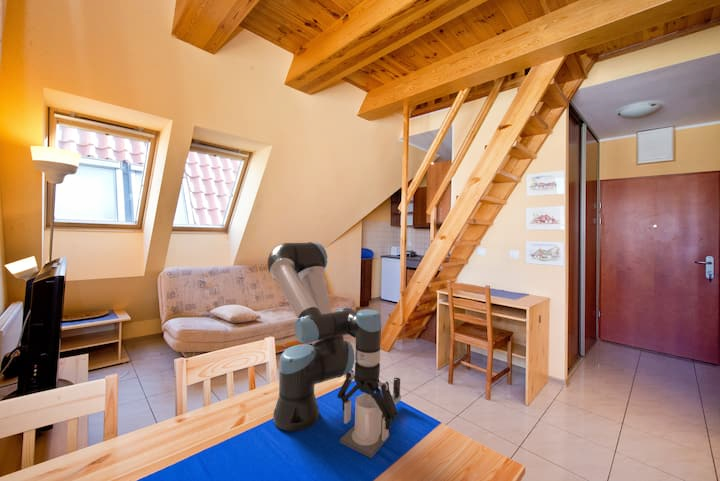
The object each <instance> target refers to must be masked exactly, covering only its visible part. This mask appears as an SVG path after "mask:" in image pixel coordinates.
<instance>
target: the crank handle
mask: <svg viewBox="0 0 720 481" xmlns="http://www.w3.org/2000/svg"><path fill="white" fill-rule="evenodd" d="M392 386H393V387H392V388H393V390H392V392H393V393H392V394H391V396H392V399H393V402H394V404H395V406H396V405H397V404H398V403H399V402H400V401H401V399H402V394H401V378H400V377H393V385H392ZM382 414H383V413H382Z"/></svg>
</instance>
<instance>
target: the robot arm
mask: <svg viewBox="0 0 720 481" xmlns="http://www.w3.org/2000/svg"><path fill="white" fill-rule="evenodd" d="M327 253H328V252H327V250H326V249H325V247H324V245H322V244H321V243H319V242H311V241H310V242H309V241H307V242H283V243H281V244H278V245H277V246H275V247H274V248H273V249H272V250H271V251H270V253H269V255H268V257H267V270H268V272H269V275H270V276H271V277H272V278H273V279H274V280H276V282H277V284H278V286H279V287H280V289H281V291H282V293H283V296H284V297H285V299H286V301H287V303H288V305H289V307H290V309H291V311H292V313H293V314H294V317H295V319H296V320H295V322H294V327H293V331H294V333H295V334H294V336H295V338H296V340H297V341H298V342H299V343H300V344H296V345H292V346H290V347H288V348H286V349H285V350H284V351H283V352H282V353H281V355H280V358H279V365H278V371H279V372H278V373H279V380H278V384H279V387H278V390H279V391H278V395H279V396H278V398H277V402H276V404H275V408H274V411H273V423H274V426H276V427H277V428H278V429H280V430H283V431H285V432H301V431H303V430H307V429H310V428H311V427H312V426H314V425H315V424H316V423H317V422H318V420H319V418H320V417H319V416H320V408H319V405H318V403H317V398H316V396H315V385H317V384H321V383H323V382H327V381H330V380H331V381H332V380H334V379H337V378H341V377H343V376H345V380H344V382H343V383H342V385H341V388H340V390H339V392H338V393H337V394H336V395H337V398H338V399H340V400H341V402H342V411H343V423H344V424H345V425H346V424H348V423H349V422H350V421H351V420H352V399H350V398H352V396H353V395H354V394H355V393H356V392H357V391H359V390H360V392H361V393H364V394H369V395H371V396H372V398H374V399H375V401H376V403H377V405H378V406H379V408H380V410H381V412H382V413H383V415H384V418H383V419H382V441H385V439H386V438H387V437H388V432H389V430H390V429H391V428H392V421H394V420H395V419H397V417H398V416H399V412H398V410H397V408H396V407H397V406H396V405H395V404H394V402H393V399H392V393H391V391H390V383H389V382H388V381H385V382H382V381H381V380H380V371H381V368H380V367H381V364H380V362H381V338H382V336H381V335H382V326H383V324H382V315H381V313H380V312H379V311H378V310H375V309H371V308H370V309H367V308H366V309H365V308H364V309H360V310H358V311H357V310H355V309H353V308H351V307H347V306H345V307H344V306H342V307H339V308H338V309H337V310H335V311H334V312H333V309H332V305H331V302H330V299H329V294H328V289H327V286H326V283H325V279H324V273H325V271H326V268H327V265H328V254H327ZM345 335H349V336H351V337H352V338H355V350H354V347H353V345H352V344H351V342H350V341H348V340H345V339H344V336H345ZM301 343H302V344H301ZM307 343H308V344H307ZM309 343H312V345H311V344H309ZM353 368H354V370H353ZM353 380H354V382H355V384H356V385H354V386H353V387H352V388H351V390H349V391H348V389H349V387H350V386H351V383H352V381H353ZM347 391H348V392H347ZM346 392H347V394H346ZM389 433H390V432H389ZM385 442H386V441H385Z"/></svg>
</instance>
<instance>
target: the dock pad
mask: <svg viewBox="0 0 720 481" xmlns="http://www.w3.org/2000/svg"><path fill="white" fill-rule="evenodd" d="M389 437H390V432H388V437H387V438H386V439H385V441H382V429H381V434H380V436H379V437H378V438H377V439H375V440H372V441H365V440H362V439H360V438H359V437H357V435H356V434H355V424H354V425H353V426H352V427H351V428H350V429H349V430H347V432H346V433H345V434H344V435H343V436H342V437H340V440H339V443H340V444H342V445H344V446H346V447H348V448H350V449H351V450H354V451H356V452H358V453H360V454H362V455H364V456H366V457H368V458H370V459H372V458H373V457H374V456H375V454H376V453H378V451H379V450H380V448H382V446H383V445H384V444H385V443H386V441H387V440H388V439H389Z"/></svg>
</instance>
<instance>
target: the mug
mask: <svg viewBox="0 0 720 481" xmlns="http://www.w3.org/2000/svg"><path fill="white" fill-rule="evenodd" d="M354 401H355V402H354V403H355V404H354V405H355V406H354V409H355V410H354V425H355V434H356V435H357V437H359V438H360V439H362V440H365V441H372V440H375V439H377V438H378V437H379V436H380V434H381V420H382V412H381V410H380V408H379V406H378V405H377V403H376V401H375V399H374V398H372V396H371V395H369V394H367V393H362V394H360V395H358V396H357V397H356V398H355V400H354Z"/></svg>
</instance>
